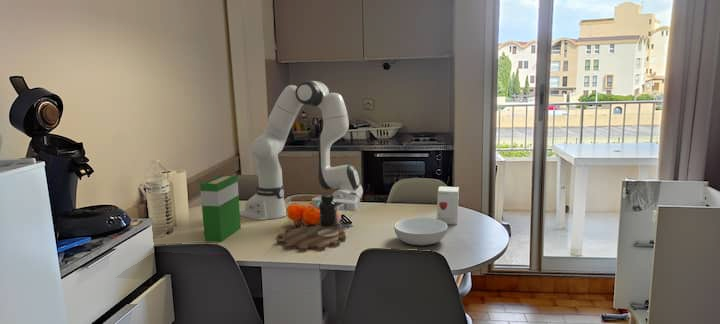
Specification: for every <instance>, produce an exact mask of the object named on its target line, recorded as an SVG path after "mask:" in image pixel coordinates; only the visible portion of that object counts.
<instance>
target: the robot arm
mask: <svg viewBox="0 0 720 324" xmlns="http://www.w3.org/2000/svg"><path fill="white" fill-rule="evenodd" d="M303 106H309V107H316V108H319V109H320V111H321V114H322V121H323V124H322V125H323V126H322V131H321V132H320V134H319V135H318V172H317V182H318V183H317V184H318V185H319V186H320V187H321V188H322V189H324V190H326V191H330V190H335V189H338V190H335V191H334V192H332V193H331V195H333V201H334V202H335V203H336V206H335V207H334V211H336V212H339V211H346V212H347V211H348V212H356V211H358V210H359V209H360V208H361V198H362V196H363V193H364V190H363V187H362V185H361V177H360V173H359V171H358V169H357V168H356V167H355V166H354V165H353V164H351V163H350V164H343V165H337V166H331V147H332V145H333V144H335V142H337V141H338V140H340V139H341V138H343V137H344V136H345V135H346V134H347V132H348V130H349V127H350V122H349V114H348V109H347V106H346V104H345V100H344V98H343V96H342V95H341V94H340V93H338V92H331V88H330V87H329V86H328V84H326V83H325V82H323V81H318V80H304V81H302V82H300V83H298V84H297V86H296V85H293V84H290V85H287V86H286V87H284V89H283V90H282V91H281V93H280V94H279V97H278V98H277V100H276V101H275V103H274V106H273V108H272V110H271V111H270V114H269V116H268V119H267V124H266V128H265V129H264V132H263V133H262V135H259V136H257V137H255V139H254V140H253V141H252V143H251V146H250V151H251V154H252V155H253V158H254V160H255V164H256V168H257V177H258V178H257V179H258V185H257V186H256V187H255V188H253V189H254V190H253V191H256V192H255V194H253V195H252V196H251V197H250V198H249V199H248V200H246V202H245V205H244V210H242V211H240V217H245V218H249V219H255V220H259V221H266V220H274V219H281V218H283V217H285V216H287V215H288V213H287V214H286V210H287V207H286V204H285V197H284V196H285V189H284V184H283V169H282V166H281V163H280V160H279V154H280V152H282V151H283V149H284V147H285V144H286V141H287V139H288V136H289V134H290V131H291V129H292V127H293V124H294V122H295V121H296V118H297V117H298V115H299V112H300V110H301V109H302V107H303ZM321 196H322V195H318V196H315V197H313V198H311V207H312V208H316V210H320V209H319V204H320V203H321V202H322V200H321Z"/></svg>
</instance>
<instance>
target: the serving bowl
mask: <svg viewBox="0 0 720 324" xmlns="http://www.w3.org/2000/svg"><path fill="white" fill-rule="evenodd" d="M448 227H449V226H448V224H446V223H445V222H443V221H441V220H438V219H437V218H432V217H408V218H403V219H400V220H399V221H396V223H394V225H393V228H394V232H395V235H396V237H398V239H399V240H401V241H402V242H404V243H406V244H409V245H415V246H429V245H433V244H436V243H439V242H440V241H441V240H443V238H445V237H446V235H447V232H448Z"/></svg>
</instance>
